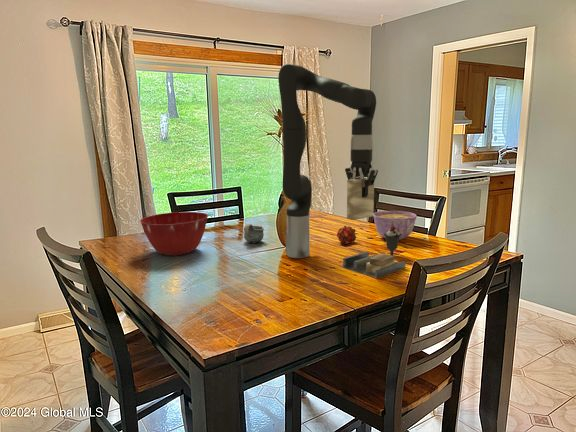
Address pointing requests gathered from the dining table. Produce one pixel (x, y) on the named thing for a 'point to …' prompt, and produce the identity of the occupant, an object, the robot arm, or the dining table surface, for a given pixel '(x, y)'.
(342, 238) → the dragon fruit
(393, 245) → the sundae
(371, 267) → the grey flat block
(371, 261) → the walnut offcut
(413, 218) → the bowl of food
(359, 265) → the rack
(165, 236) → the mixing bowl
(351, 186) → the pale wood block
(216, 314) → the dining table surface
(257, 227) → the mug
